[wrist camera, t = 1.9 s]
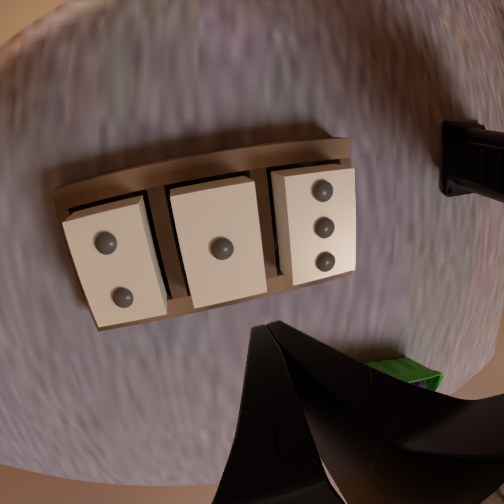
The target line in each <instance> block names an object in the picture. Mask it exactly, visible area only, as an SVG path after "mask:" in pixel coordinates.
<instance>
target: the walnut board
mask: <svg viewBox="0 0 504 504" xmlns="http://www.w3.org/2000/svg"><path fill="white" fill-rule="evenodd" d="M321 160H325V164H326V165H327V164H338V165H343V166H347V167H351V164H350V148H349V138H341V137H324V138H311V139H300V140H290V141H280V142H271V143H263V144H255V145H247V146H240V147H233V148H226V149H220V150H213V151H207V152H201V153H196V154H190V155H185V156H179V157H174V158H169V159H164V160H159V161H154V162H150V163H145V164H141V165H136V166H132V167H128V168H123V169H119V170H115V171H111V172H107V173H103V174H100V175H96V176H92V177H88V178H85V179H81V180H78V181H74V182H71V183H67V184H64V185H62V186H60V187H58V188H56V189H54V190H52V194H53V198H54V202H55V206H56V210H57V214H58V218H59V222H60V225H61V229H62V232H63V236H64V239H65V243H66V246H67V249H68V252H69V255H70V259H71V262H72V265H73V268H74V271H75V273H76V276H77V279H78V282H79V285H80V287H81V290H82V293H83V295H84V298H85V301H86V303H87V306H88V308H89V311H90V313H91V316H92V318H93V320H94V323H95V325H96V327H97V330H98V331H103V330H109V329H115V328H120V327H126V326H131V325H136V324H141V323H147V322H152V321H157V320H162V319H167V318H172V317H177V316H181V315H186V314H191V313H196V312H200V311H205V310H209V309H214V308H218V307H223V306H227V305H232V304H236V303H241V302H245V301H249V300H253V299H258V298H262V297H266V296H270V295H274V294H278V293H282V292H286V291H290V290H294V289H298V288H302V287H306V286H310V285H314V284H318V283H322V282H325V281H329V280H333V279H337V278H340V277H344V276H348V275H351V274H352V271H349V272H345V273H341V274H337V275H334V276H330V277H326V278H322V279H318V280H314V281H310V282H306V283H302V284H298V285H294V286H293V285H292V284H291V282H290V281H289V280H288V279H287V277H286V276H285V275H284V274H283V272H282V271H281V270H280V261H278V262H276V259H275V249H274V239H273V229H272V220H271V210H270V201H269V192H268V182H267V173H266V167H272V166H280V165H287V164H295V163H303V162H312V161H321ZM239 171H242V173H243V176H246V177H247V178H249V179H251V180H253V181H254V182H255V190H256V199H257V207H258V216H259V224H260V233H261V241H262V250H263V259H264V267H265V276H266V285H267V292H266V293H261V294H257V295H253V296H249V297H244V298H240V299H236V300H231V301H227V302H222V303H218V304H213V305H209V306H204V307H200V308H195V309H194V305H193V301H192V297H191V293H190V289H189V284H188V281H185V277H184V272H183V268H182V264H181V259H180V255H179V250H178V246H177V241H176V237H175V232H174V227H173V222H172V217H171V212H170V207H169V202H168V197H167V191H166V186H165V185H168V184H172V183H177V182H182V181H188V180H193V179H198V178H204V177H209V176H215V175H221V174H227V173H233V172H239ZM144 189H147V193H148V198H149V203H150V207H151V212H152V217H153V221H154V226H155V230H156V235H157V239H158V243H159V248H160V252H161V256H162V260H163V264H164V268H165V272H166V276H167V280H168V283H169V285H167V286H164V287H165V290H166V294H167V314H166V315H161V316H156V317H151V318H146V319H141V320H136V321H131V322H125V323H120V324H114V325H109V326H103V327H98V325H97V322H96V320H95V317H94V315H93V313H92V310H91V308H90V305H89V303H88V300H87V297H86V295H85V292H84V289H83V287H82V284H81V281H80V278H79V275H78V273H77V270H76V267H75V264H74V261H73V258H72V254H71V251H70V248H69V245H68V242H67V238H66V235H65V231H64V228H63V224H62V222H63V221H65V220H66V219H67V218H68V217H69V216H70V215H71V214H73V213H74V212H76V211H79V210H80V209H79V205H83V204H86V203H90V202H94V201H98V200H102V199H106V198H110V197H114V196H118V195H122V194H127V193H131V192H135V191H140V190H144Z"/></svg>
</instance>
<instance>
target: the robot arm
mask: <svg viewBox="0 0 504 504" xmlns="http://www.w3.org/2000/svg"><path fill="white" fill-rule="evenodd" d="M443 147H444V177H443V193H444V195H445V196H448V197H452V196H458V195H464V194H470V193H476V194H479V195H482V196H485V197H488V198H491V199H494V200H497V201H500V202H502V203H504V132H498V131H491V130H486V129H485V126H484V125H480V124H472V123H463V122H453V121H444V123H443ZM320 458H321V459H322V461H323V463H324V465H325V466H326V468H327V470H328V471H329V473H330V475H331V476H332V478H333V480H334V482H335V483H336V485H337V487H338V488H339V490H340V492H341V493H342V495H343V497H344V498H345V500H346V502H347V503H348V504H504V394H501V395H496V396H493V397H488V398H485V399H479V400H464V399H458V398H455V397H451V396H448V395H445V394H442V393H438V392H435V391H432V390H429V389H426V388H423V387H420V386H417V385H414V384H411V383H408V382H406V381H403V380H400V379H398V378H395V377H393V376H391V375H389V374H386V373H384V372H382V371H380V370H378V369H376V368H373V367H370V366H369V365H367V364H365V363H363V362H361V361H359V360H357V359H355V358H353V357H351V356H349V355H347V354H345V353H343V352H341V351H339V350H337V349H335V348H333V347H331V346H329V345H327V344H325V343H323V342H321V341H319V340H317V339H315V338H313V337H311V336H309V335H307V334H305V333H303V332H301V331H299V330H297V329H296V328H294V327H292V326H290V325H288V324H286V323H284V322H282V321H274V322H271V323H267V324H266V325H264V324H263V325H259V326H255V327H252V328H251V333H250V340H249V347H248V355H247V362H246V369H245V376H244V383H243V390H242V397H241V404H240V410H239V416H238V422H237V427H236V432H235V437H234V441H233V444H232V448H231V451H230V455H229V457H228V460H227V463H226V466H225V469H224V472H223V475H222V478H221V480H220V483H219V486H218V489H217V492H216V494H215V497H214V499H213V502H212V504H345V502H344V501H343V500H342V499H341V497H340V496H339V495H338V493H337V492H336V491H335V489H334V488H333V486H332V485H331V483H330V481H329V479H328V477H327V475H326V473H325V470H324V467H323V466H322V462H321V459H320Z"/></svg>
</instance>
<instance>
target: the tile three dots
mask: <svg viewBox="0 0 504 504" xmlns="http://www.w3.org/2000/svg"><path fill="white" fill-rule="evenodd" d="M271 180H272V189H273V199H274V209H275V219H276V229H277V239H278V250H279V261H280V270H281V271H282V272H283V274H284V275H285V276H286V277H287V279H288V280H289V281H290V282H291V284H292V285H293V286H294V285H298V284H302V283H306V282H310V281H314V280H318V279H322V278H326V277H330V276H334V275H337V274H341V273H345V272H349V271H352V270H355V261H356V203H355V174H354V168H351V167H347V166H343V165H338V164H327V165H318V166H309V167H301V168H293V169H286V170H278V171H271Z"/></svg>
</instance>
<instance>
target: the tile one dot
mask: <svg viewBox="0 0 504 504" xmlns="http://www.w3.org/2000/svg"><path fill="white" fill-rule="evenodd" d="M170 200H171V205H172V210H173V215H174V220H175V225H176V230H177V235H178V240H179V244H180V249H181V254H182V258H183V263H184V267H185V271H186V276H187V280H188V284H189V289H190V293H191V297H192V301H193V305H194V309H195V308H200V307H204V306H209V305H213V304H218V303H222V302H227V301H231V300H236V299H240V298H244V297H249V296H253V295H257V294H261V293H266V292H267V285H266V276H265V267H264V259H263V250H262V241H261V233H260V224H259V216H258V207H257V199H256V190H255V182H254V181H253V180H251V179H249V178H247V177H246V176H239V177H233V178H227V179H221V180H215V181H210V182H204V183H199V184H194V185H188V186H183V187H178V188H173V189H170Z"/></svg>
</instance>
